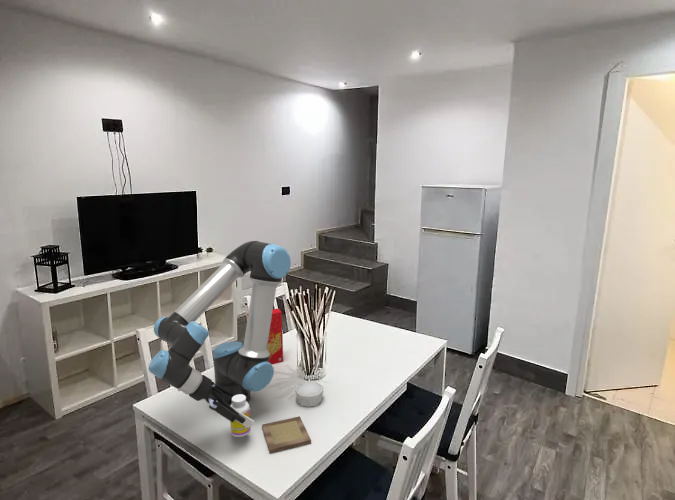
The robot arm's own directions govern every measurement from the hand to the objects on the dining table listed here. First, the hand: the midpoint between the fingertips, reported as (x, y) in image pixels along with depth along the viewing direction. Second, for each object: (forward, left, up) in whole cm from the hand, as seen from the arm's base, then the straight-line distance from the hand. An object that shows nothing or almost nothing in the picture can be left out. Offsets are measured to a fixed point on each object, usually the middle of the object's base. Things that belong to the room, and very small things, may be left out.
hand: (249, 418), depth 141 cm
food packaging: (-51, +16, -7) cm, 54 cm away
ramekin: (-14, +26, -8) cm, 30 cm away
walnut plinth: (+4, +12, -7) cm, 14 cm away
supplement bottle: (0, -3, -5) cm, 6 cm away
